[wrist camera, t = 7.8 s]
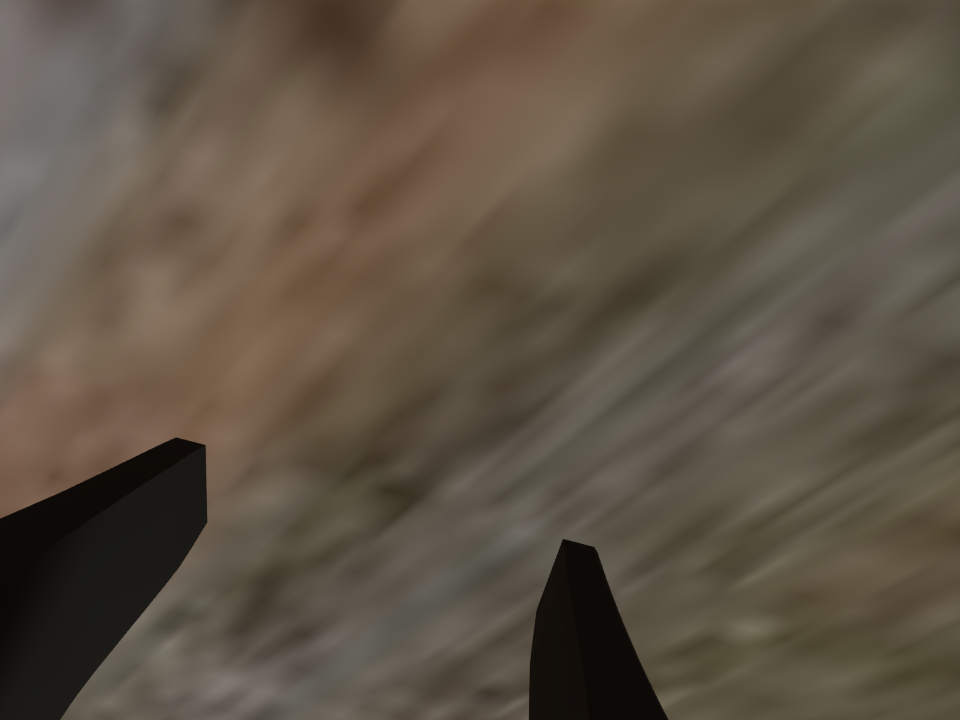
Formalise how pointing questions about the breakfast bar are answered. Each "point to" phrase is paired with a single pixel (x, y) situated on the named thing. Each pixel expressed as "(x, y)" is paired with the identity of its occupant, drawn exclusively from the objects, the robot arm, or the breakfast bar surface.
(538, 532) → the breakfast bar surface
